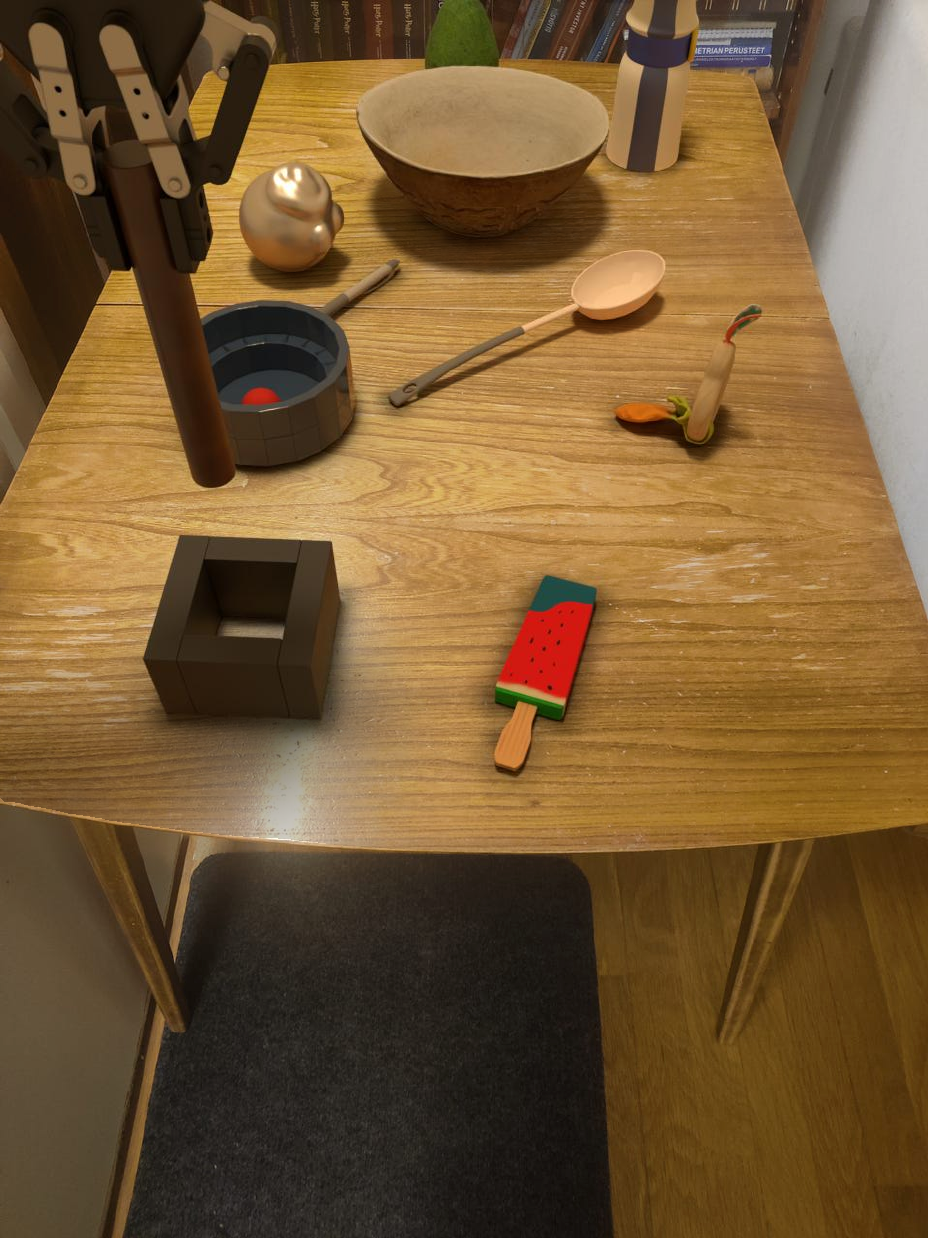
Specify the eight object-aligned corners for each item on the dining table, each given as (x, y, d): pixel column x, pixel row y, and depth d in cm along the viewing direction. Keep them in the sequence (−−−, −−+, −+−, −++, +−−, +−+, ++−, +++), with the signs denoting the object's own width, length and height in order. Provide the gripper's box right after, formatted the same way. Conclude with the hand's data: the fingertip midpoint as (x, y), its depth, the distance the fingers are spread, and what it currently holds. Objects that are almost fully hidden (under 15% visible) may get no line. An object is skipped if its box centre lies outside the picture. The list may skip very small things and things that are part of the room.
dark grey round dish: (169, 468, 78) (151, 408, 73) (205, 357, 86) (190, 297, 81) (344, 474, 77) (337, 414, 73) (363, 363, 86) (357, 302, 81)
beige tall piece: (659, 376, 85) (684, 254, 76) (743, 418, 82) (779, 296, 73) (608, 420, 81) (627, 298, 72) (694, 466, 78) (725, 345, 69)
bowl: (489, 125, 111) (491, 28, 103) (648, 215, 100) (664, 114, 92) (316, 199, 102) (304, 99, 94) (471, 307, 91) (473, 203, 83)
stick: (187, 487, 55) (93, 167, 40) (197, 457, 56) (109, 137, 42) (231, 489, 54) (152, 169, 40) (239, 459, 56) (166, 139, 42)
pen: (403, 270, 94) (403, 257, 93) (301, 343, 87) (299, 330, 86) (395, 266, 94) (394, 253, 93) (293, 339, 88) (290, 325, 87)
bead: (247, 417, 81) (237, 434, 78) (245, 379, 79) (235, 395, 77) (287, 420, 81) (278, 437, 78) (285, 383, 79) (276, 399, 76)
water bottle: (682, 136, 110) (732, -140, 90) (680, 175, 105) (733, -108, 85) (607, 129, 111) (640, -145, 91) (602, 169, 106) (636, -114, 86)
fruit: (466, 84, 117) (467, -32, 108) (511, 109, 114) (516, -8, 104) (412, 104, 114) (408, -13, 105) (456, 131, 110) (456, 12, 101)
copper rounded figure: (277, 305, 91) (260, 201, 83) (231, 255, 95) (211, 152, 87) (363, 274, 94) (355, 170, 86) (315, 227, 98) (303, 125, 91)
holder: (165, 713, 64) (142, 659, 59) (198, 592, 70) (179, 534, 65) (321, 720, 64) (310, 666, 59) (340, 598, 70) (332, 540, 65)
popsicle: (470, 750, 61) (539, 572, 70) (469, 761, 62) (538, 585, 71) (542, 771, 60) (603, 588, 69) (540, 783, 61) (600, 602, 70)
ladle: (680, 300, 90) (684, 257, 86) (418, 456, 84) (409, 417, 80) (637, 265, 93) (638, 222, 89) (381, 414, 87) (370, 374, 83)
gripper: (-247, -204, 29) (-23, 307, 43) (228, -193, 29) (301, 318, 42) (-140, -269, 34) (32, 212, 47) (271, -260, 33) (324, 221, 47)
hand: (159, 260), depth 45 cm, fingers closed on stick, 2 cm apart
